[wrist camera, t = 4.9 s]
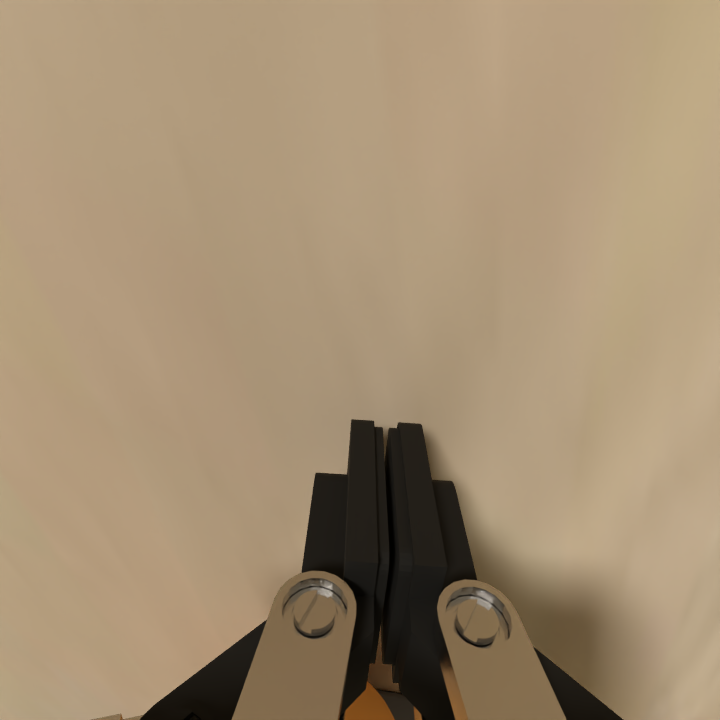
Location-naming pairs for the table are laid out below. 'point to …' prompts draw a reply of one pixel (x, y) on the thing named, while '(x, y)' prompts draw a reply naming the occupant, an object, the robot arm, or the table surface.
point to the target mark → (398, 705)
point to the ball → (369, 707)
